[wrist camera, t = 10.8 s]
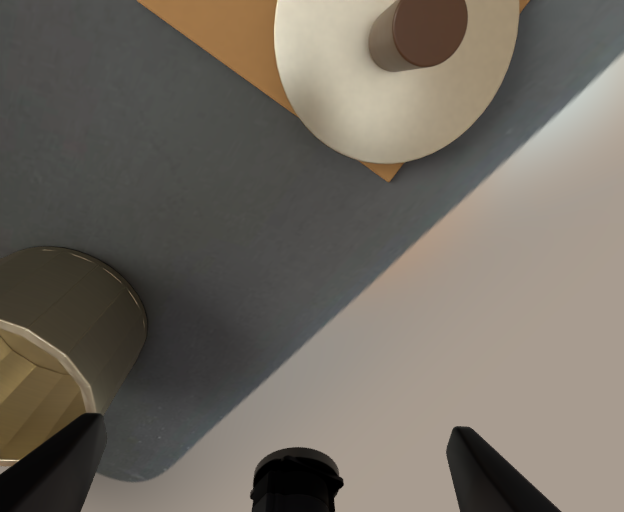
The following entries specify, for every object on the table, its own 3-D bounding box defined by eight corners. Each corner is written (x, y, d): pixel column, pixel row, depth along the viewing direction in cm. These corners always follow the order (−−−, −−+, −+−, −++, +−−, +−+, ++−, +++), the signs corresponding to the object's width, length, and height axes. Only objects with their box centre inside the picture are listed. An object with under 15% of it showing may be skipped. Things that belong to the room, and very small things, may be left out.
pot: (138, 251, 21) (74, 316, 15) (155, 377, 25) (109, 469, 19) (-37, 241, 20) (-175, 305, 14) (9, 372, 24) (-85, 464, 18)
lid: (539, -94, 15) (666, -188, 10) (472, 167, 19) (534, 196, 14) (280, -125, 14) (269, -244, 9) (271, 152, 18) (260, 177, 13)
